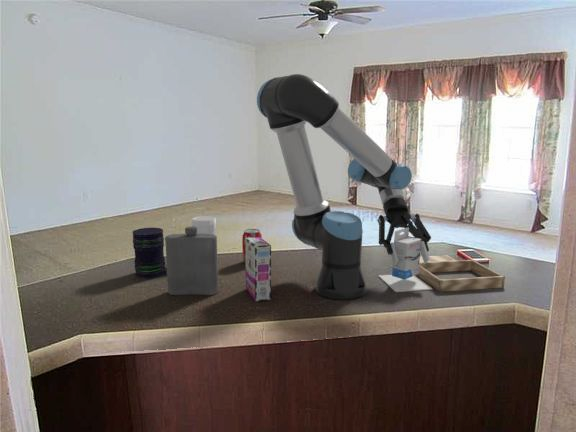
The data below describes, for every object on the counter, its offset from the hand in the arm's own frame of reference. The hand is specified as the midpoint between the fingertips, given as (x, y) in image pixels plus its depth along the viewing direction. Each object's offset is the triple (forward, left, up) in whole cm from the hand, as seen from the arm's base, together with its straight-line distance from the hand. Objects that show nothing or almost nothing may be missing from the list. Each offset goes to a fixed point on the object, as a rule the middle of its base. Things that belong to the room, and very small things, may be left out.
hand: (411, 262), depth 136 cm
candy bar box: (-47, +1, -8) cm, 48 cm away
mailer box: (+18, +11, -8) cm, 22 cm away
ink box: (0, +4, -6) cm, 7 cm away
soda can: (-46, +32, -8) cm, 57 cm away
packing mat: (0, +3, -8) cm, 9 cm away
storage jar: (-81, +25, -8) cm, 86 cm away
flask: (-66, +6, -8) cm, 67 cm away
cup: (-63, +37, -8) cm, 74 cm away
